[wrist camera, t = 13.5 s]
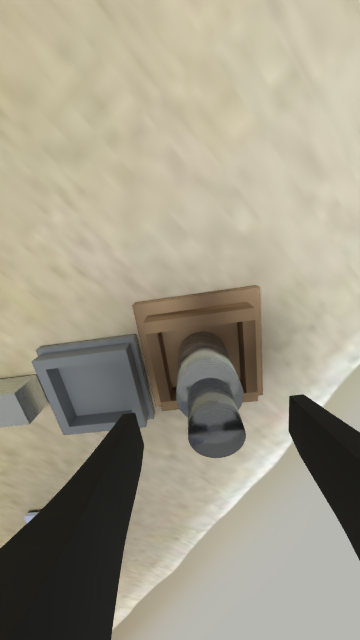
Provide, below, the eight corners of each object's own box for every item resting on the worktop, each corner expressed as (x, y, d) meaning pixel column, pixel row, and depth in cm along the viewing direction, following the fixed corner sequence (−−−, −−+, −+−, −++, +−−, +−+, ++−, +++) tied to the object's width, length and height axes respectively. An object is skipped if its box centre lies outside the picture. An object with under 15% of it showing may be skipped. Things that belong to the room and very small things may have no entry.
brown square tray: (156, 399, 18) (152, 421, 16) (134, 302, 15) (126, 311, 13) (259, 388, 18) (270, 409, 15) (256, 285, 15) (269, 291, 12)
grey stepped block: (-1, 411, 19) (-34, 440, 16) (-20, 377, 18) (-59, 401, 15) (49, 406, 19) (25, 434, 16) (34, 370, 17) (5, 394, 15)
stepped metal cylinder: (181, 375, 16) (178, 470, 9) (176, 333, 15) (169, 405, 8) (226, 371, 16) (259, 465, 9) (224, 329, 15) (261, 398, 8)
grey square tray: (71, 422, 19) (60, 439, 18) (40, 346, 17) (24, 357, 15) (154, 413, 19) (151, 430, 17) (135, 333, 16) (129, 343, 14)
